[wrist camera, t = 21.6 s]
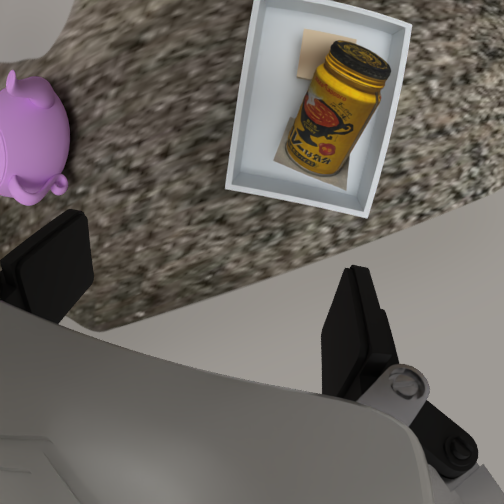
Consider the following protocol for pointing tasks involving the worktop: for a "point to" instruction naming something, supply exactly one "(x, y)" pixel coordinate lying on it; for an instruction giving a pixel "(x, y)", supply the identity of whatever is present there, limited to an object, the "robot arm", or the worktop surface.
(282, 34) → the tote
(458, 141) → the worktop surface
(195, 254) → the worktop surface
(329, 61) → the condiment
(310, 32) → the cube
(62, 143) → the teapot
